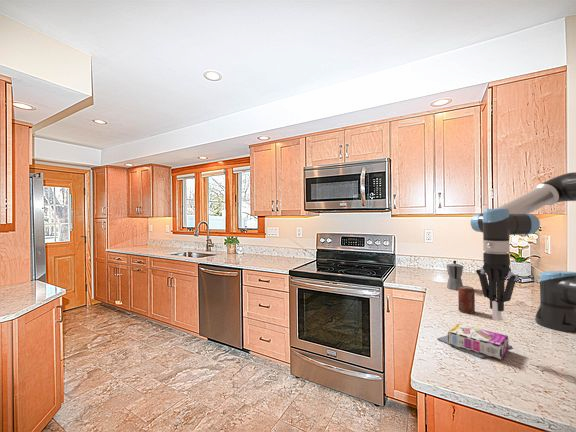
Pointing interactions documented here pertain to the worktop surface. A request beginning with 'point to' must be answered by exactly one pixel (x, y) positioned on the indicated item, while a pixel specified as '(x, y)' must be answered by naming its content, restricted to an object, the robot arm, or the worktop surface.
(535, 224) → the robot arm
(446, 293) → the worktop surface
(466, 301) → the soda can
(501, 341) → the candy bar box
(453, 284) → the coffeepot
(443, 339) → the mat
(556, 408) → the worktop surface
